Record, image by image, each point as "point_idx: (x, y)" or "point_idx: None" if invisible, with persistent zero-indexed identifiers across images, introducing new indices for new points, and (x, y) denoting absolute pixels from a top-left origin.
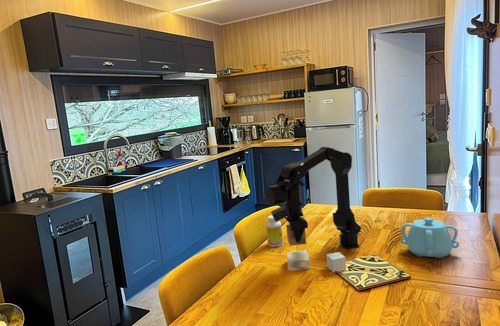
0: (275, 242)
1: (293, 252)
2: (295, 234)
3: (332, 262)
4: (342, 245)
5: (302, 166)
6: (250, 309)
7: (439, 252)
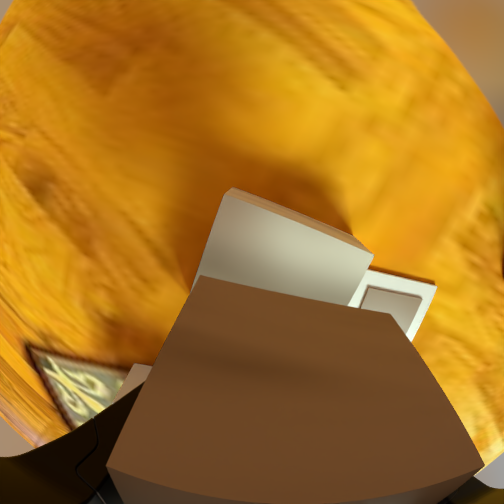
0: None
1: (345, 293)
2: (82, 432)
3: (119, 393)
4: None
5: None
6: (35, 4)
7: None
